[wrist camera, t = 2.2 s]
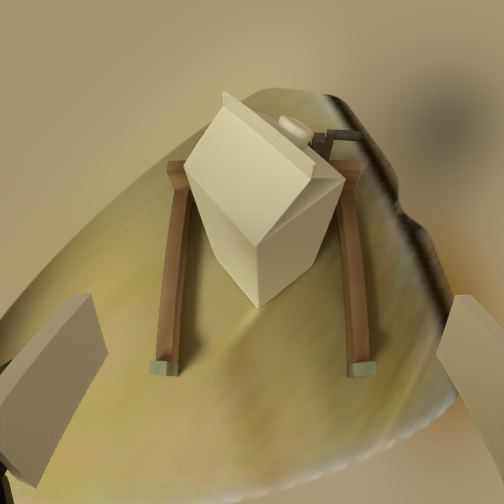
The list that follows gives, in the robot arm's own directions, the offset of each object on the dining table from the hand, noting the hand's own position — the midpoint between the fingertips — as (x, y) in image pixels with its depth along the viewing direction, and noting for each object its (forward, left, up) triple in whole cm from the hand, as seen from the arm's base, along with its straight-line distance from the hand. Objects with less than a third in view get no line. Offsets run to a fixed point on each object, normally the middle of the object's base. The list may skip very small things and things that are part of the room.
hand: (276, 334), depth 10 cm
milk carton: (-1, +10, -20) cm, 22 cm away
